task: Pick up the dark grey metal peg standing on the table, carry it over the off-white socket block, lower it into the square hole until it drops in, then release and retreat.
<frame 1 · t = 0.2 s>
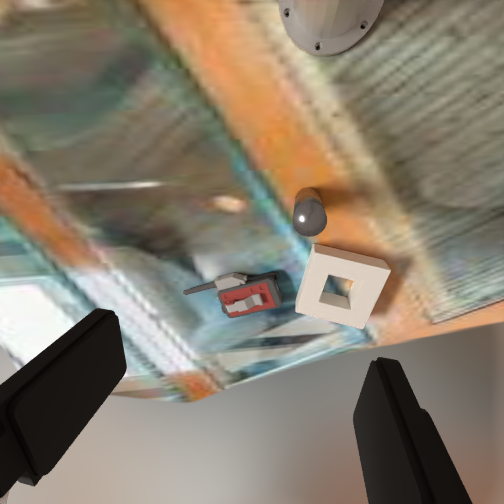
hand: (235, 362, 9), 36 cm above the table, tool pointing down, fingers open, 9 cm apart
peg: (307, 200, 42), on the table
walkie-talkie: (235, 290, 52), on the table
socket block: (336, 280, 46), on the table
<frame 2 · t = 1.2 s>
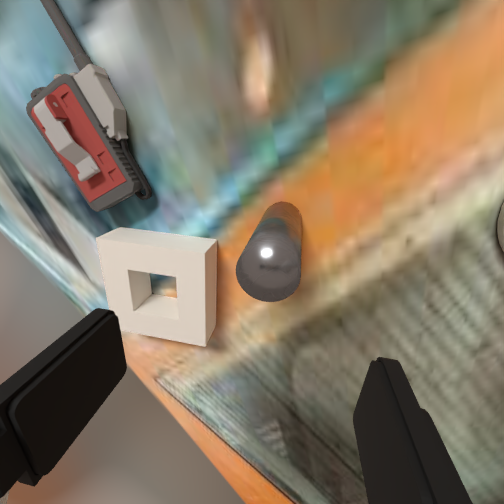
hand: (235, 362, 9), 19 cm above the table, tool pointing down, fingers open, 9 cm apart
peg: (282, 221, 27), on the table
walkie-talkie: (91, 115, 27), on the table
socket block: (170, 278, 32), on the table
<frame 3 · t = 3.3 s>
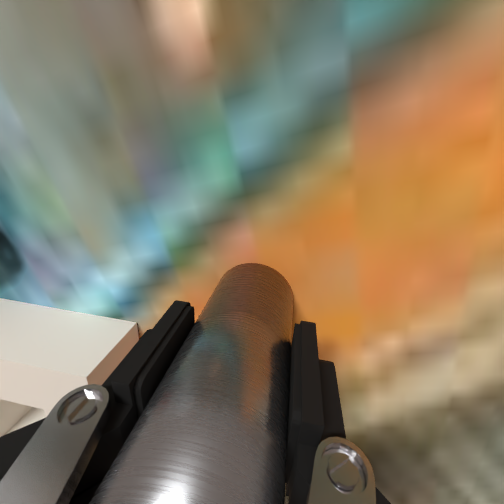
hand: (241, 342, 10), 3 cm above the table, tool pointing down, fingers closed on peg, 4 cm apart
peg: (254, 298, 13), on the table, touching gripper
socket block: (69, 375, 19), on the table
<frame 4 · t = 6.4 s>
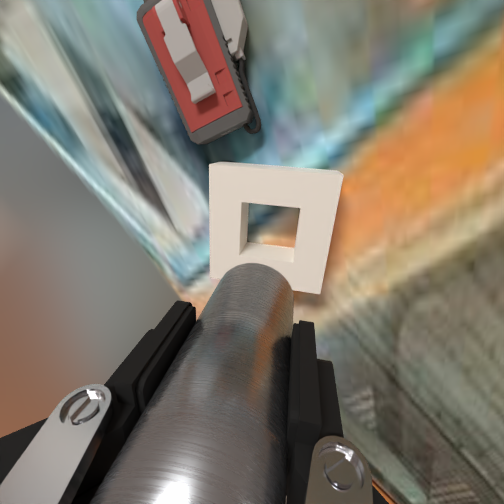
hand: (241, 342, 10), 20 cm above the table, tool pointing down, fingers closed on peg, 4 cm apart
peg: (254, 297, 13), point 17 cm above the table, touching gripper
walkie-talkie: (200, 32, 24), on the table
socket block: (272, 221, 29), on the table
when the fingers open (6 cm above the table, at t = 9.3 s): peg drops 2 cm, resting in socket block.
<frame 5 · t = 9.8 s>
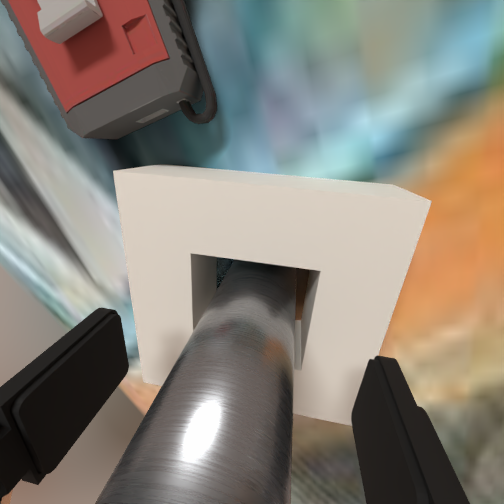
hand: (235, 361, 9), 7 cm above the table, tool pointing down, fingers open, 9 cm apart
peg: (263, 275, 16), resting in socket block
socket block: (261, 275, 16), on the table
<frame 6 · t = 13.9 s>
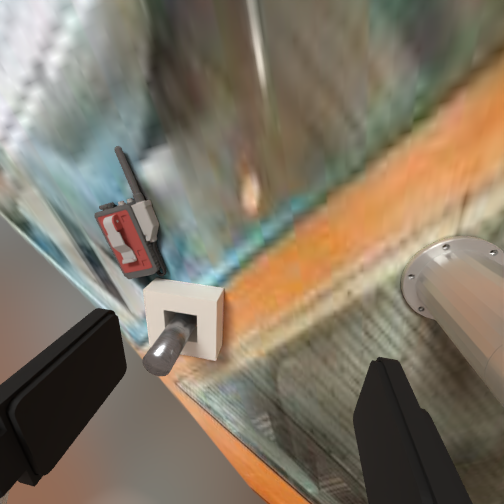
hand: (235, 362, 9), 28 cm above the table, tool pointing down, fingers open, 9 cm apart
peg: (191, 312, 45), resting in socket block
walkie-talkie: (134, 217, 41), on the table
socket block: (190, 312, 45), on the table
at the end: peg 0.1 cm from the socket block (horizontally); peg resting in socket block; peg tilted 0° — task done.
